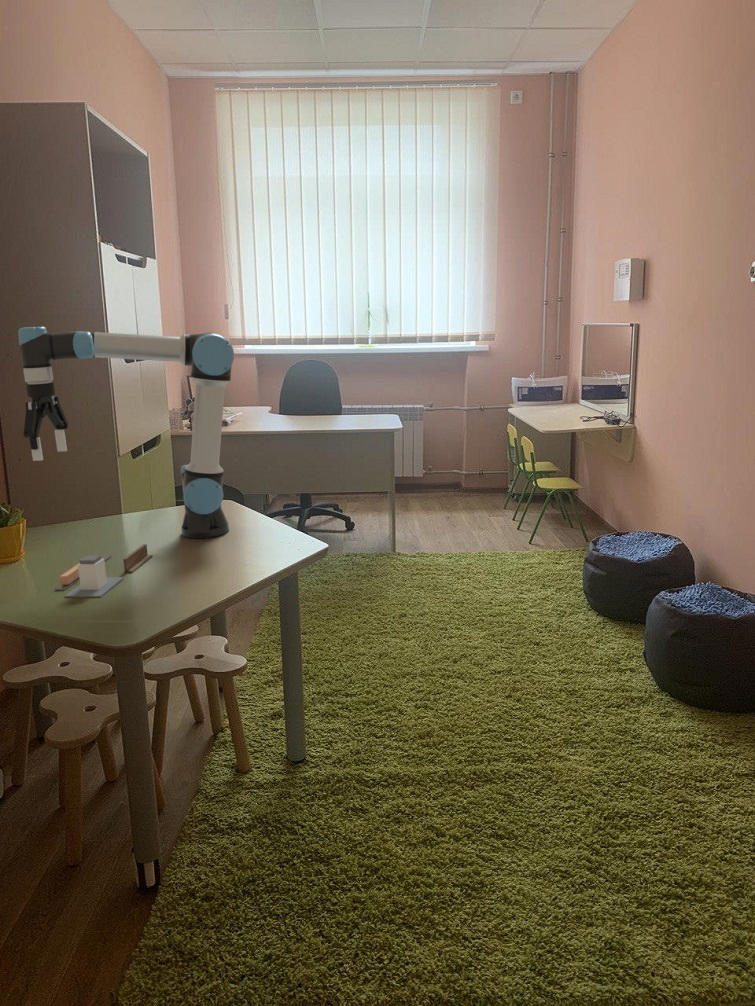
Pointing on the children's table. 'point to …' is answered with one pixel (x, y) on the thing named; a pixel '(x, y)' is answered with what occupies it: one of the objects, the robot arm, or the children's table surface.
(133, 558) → the fence
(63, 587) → the track
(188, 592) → the children's table surface
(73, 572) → the bar
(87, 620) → the children's table surface
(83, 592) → the felt mat
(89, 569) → the plug block
